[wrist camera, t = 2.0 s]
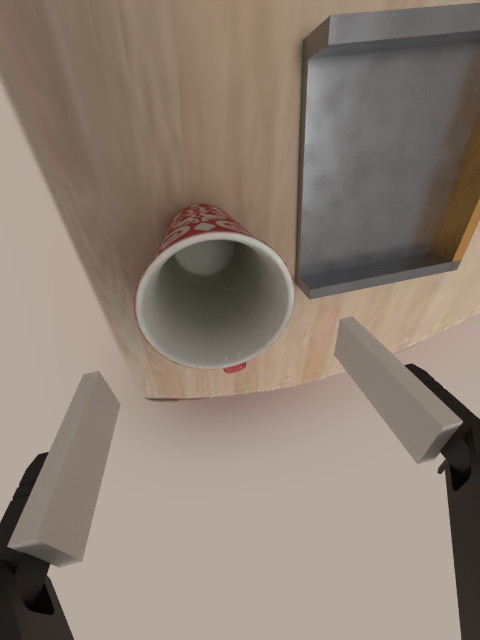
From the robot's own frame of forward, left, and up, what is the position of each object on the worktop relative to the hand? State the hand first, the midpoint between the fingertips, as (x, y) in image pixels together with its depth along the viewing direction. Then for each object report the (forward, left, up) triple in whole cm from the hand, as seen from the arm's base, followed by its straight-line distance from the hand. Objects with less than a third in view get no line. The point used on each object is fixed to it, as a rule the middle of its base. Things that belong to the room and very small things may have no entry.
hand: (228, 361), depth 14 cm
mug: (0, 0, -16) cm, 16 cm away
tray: (-5, +19, -15) cm, 25 cm away
